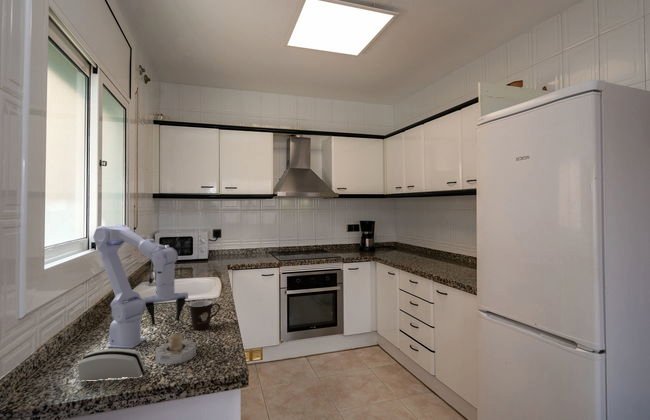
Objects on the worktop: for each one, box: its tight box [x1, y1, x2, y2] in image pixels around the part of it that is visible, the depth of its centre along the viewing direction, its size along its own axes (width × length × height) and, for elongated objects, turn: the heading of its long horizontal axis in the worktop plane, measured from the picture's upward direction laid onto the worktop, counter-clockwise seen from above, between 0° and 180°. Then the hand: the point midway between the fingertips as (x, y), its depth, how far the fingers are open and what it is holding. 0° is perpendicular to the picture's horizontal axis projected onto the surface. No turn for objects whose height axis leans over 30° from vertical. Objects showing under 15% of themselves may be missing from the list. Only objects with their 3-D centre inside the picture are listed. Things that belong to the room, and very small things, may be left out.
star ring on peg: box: [155, 339, 197, 365], centre depth 108 cm, size 12×12×3 cm
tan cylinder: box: [168, 332, 184, 351], centre depth 108 cm, size 4×4×7 cm
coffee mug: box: [189, 300, 221, 332], centre depth 135 cm, size 12×9×10 cm
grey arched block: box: [77, 347, 148, 382], centre depth 94 cm, size 17×5×10 cm, turn 97°
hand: (165, 321), depth 114 cm, fingers open, 7 cm apart
